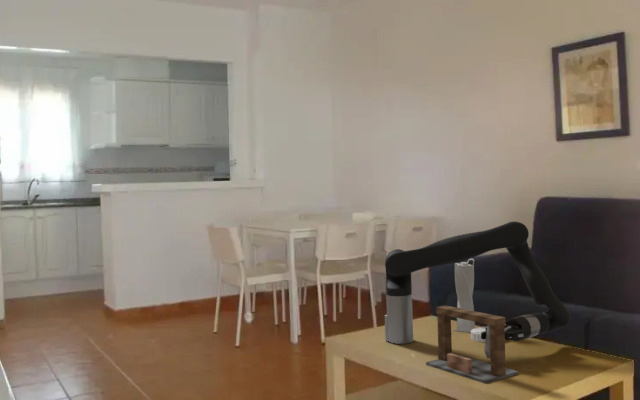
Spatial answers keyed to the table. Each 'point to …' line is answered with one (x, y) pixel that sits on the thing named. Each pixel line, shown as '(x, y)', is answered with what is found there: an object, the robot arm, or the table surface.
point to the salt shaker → (487, 342)
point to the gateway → (465, 364)
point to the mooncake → (477, 334)
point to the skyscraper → (464, 293)
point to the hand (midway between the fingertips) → (486, 336)
